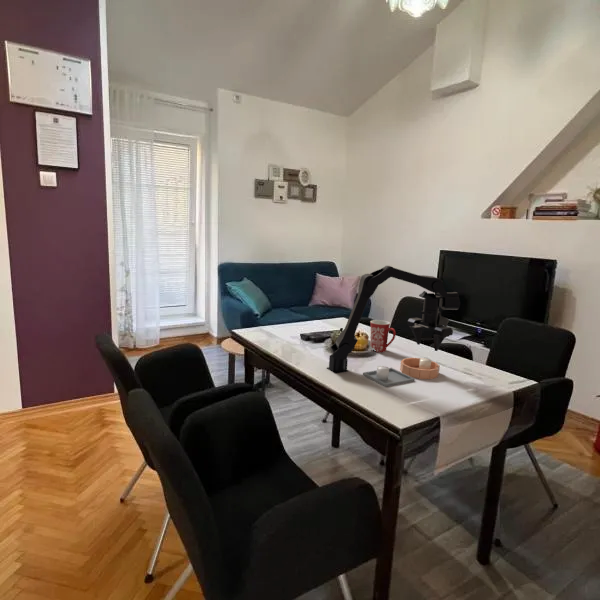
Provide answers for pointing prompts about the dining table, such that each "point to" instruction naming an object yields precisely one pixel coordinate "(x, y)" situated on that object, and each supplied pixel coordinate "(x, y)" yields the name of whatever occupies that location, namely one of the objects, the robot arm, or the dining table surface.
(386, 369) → the pebble grey
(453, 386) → the dining table surface
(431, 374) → the bowl
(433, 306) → the robot arm
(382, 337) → the mug
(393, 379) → the parts tray
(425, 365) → the pebble sand
